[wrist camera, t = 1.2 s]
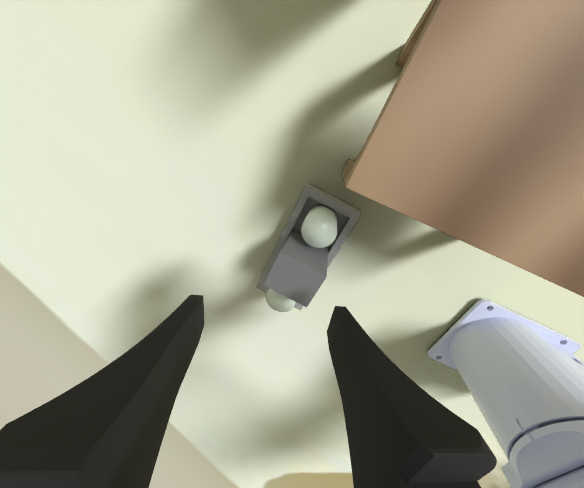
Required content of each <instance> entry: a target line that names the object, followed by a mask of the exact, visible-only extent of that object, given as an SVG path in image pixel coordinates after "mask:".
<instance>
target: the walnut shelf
mask: <svg viewBox="0 0 584 488" xmlns="http://www.w3.org/2000/svg"><path fill="white" fill-rule="evenodd" d="M396 64H397V65H399V66H401V67H403V70H402V71H401V73H400V75H399V77H398V79H397V81H396V83H395V85H394V87H393V89H392V91H391V93H390V95H389V97H388V99H387V101H386V103H385V105H384V107H383V109H382V111H381V113H380V115H379V117H378V119H377V121H376V123H375V125H374V127H373V129H372V131H371V133H370V135H369V137H368V139H367V141H366V143H365V145H364V147H363V149H362V150H361V152H360V154H359V156H358V158H357V160H356V161H354V160H350V159H349V160H348V162H347V164H346V166H345V168H344V170H343V172H342V176H343V180H344V183H345V187H346V188H348V189H350V190H352V191H354V192H356V193H359V194H361V195H363V196H365V197H367V198H370V199H372V200H374V201H376V202H378V203H380V204H383V205H385V206H387V207H389V208H391V209H394V210H396V211H398V212H400V213H402V214H404V215H407V216H409V217H411V218H413V219H415V220H417V221H420V222H422V223H424V224H426V225H428V226H431V227H433V228H435V229H437V230H439V231H441V232H444V233H446V234H448V235H450V236H452V237H454V238H457V239H459V240H461V241H463V242H465V243H468V244H470V245H472V246H474V247H476V248H478V249H481V250H483V251H485V252H487V253H489V254H491V255H494V256H496V257H498V258H500V259H502V260H505V261H507V262H509V263H511V264H513V265H515V266H518V267H520V268H522V269H524V270H526V271H529V272H531V273H533V274H535V275H537V276H539V277H542V278H544V279H546V280H548V281H550V282H552V283H555V284H557V285H559V286H561V287H563V288H566V289H568V290H570V291H572V292H574V293H576V294H579V295H581V296H583V297H584V0H432V1H431V2H430V4H429V6H428V7H427V9H426V10H425V12H424V14H423V15H422V17H421V19H420V20H419V22H418V24H417V25H416V27H415V28H414V30H413V32H412V33H411V35H410V37H409V38H408V40H407V42H406V43H405V45H404V47H403V49H402V51H401V54H400V56H399V58H398V60H397V62H396Z"/></svg>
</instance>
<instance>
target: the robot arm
mask: <svg viewBox="0 0 584 488" xmlns="http://www.w3.org/2000/svg"><path fill="white" fill-rule="evenodd" d="M488 306H490V307H489V308H487V307H488ZM203 326H204V304H203V296H201V295H190V296H189V297H188V298H187V299H186V300H185V301H184V302H183V303H182V304H181V305H180V306H179V307H178V308H177V309H176V310H175V311H174V312H173V313H172V314H171V315H170V316H169V317H167V318H166V319H165V320H164V321H163V322H162V323H161V324H160V325H159V326H158V327H157V328H155V329H154V330H153V331H152V332H151V333H150V334H148V335H147V336H146V337H145V338H144V339H142V340H141V341H140V342H139V343H137V344H136V345H135V346H134V347H132V348H131V349H130V350H128V351H127V352H126V353H124V354H123V355H122V356H120V357H119V358H118V359H116V360H115V361H113V362H112V363H110V364H109V365H107V366H106V367H105V368H103V369H102V370H100V371H99V372H97V373H96V374H94V375H93V376H91V377H89V378H88V379H87V380H84V381H83V382H81V383H80V384H78V385H76V386H75V387H73V388H71V389H70V390H68V391H66V392H65V393H63V394H61V395H60V396H58V397H56V398H54V399H53V400H51V401H49V402H47V403H45V404H43V405H42V406H40V407H38V408H36V409H34V410H32V411H31V412H29V413H27V414H25V415H23V416H21V417H19V418H17V419H16V420H14V421H12V422H10V423H8V424H6V425H5V426H4V427H3V428H2V429H1V430H0V488H148V487H149V484H150V480H151V476H152V474H153V470H154V467H155V463H156V460H157V456H158V453H159V450H160V446H161V443H162V440H163V436H164V434H165V430H166V427H167V424H168V421H169V418H170V414H171V411H172V408H173V405H174V402H175V399H176V396H177V394H178V391H179V388H180V386H181V383H182V381H183V379H184V376H185V374H186V372H187V369H188V367H189V365H190V362H191V360H192V358H193V355H194V353H195V350H196V348H197V346H198V343H199V340H200V337H201V333H202V330H203ZM327 336H328V344H329V350H330V354H331V358H332V362H333V366H334V370H335V374H336V378H337V382H338V386H339V390H340V394H341V398H342V404H343V410H344V416H345V422H346V429H347V436H348V443H349V450H350V458H351V466H352V474H353V483H354V488H481V487H480V485H479V483H478V482H477V481H478V480H479V479H481V478H482V477H483V476H485V475H486V474H488V473H489V472H490V471H492V470H493V469H494V468H495V466H496V463H497V460H496V457H495V456H494V454H493V453H492V451H491V450H490V448H489V447H488V445H487V444H486V442H485V440H484V439H483V437H482V436H481V434H480V433H479V431H478V430H477V429H476V428H474V427H473V426H471V425H470V424H468V423H467V422H466V421H464V420H463V419H461V418H460V417H458V416H457V415H455V414H454V413H453V412H451V411H450V410H448V409H447V408H446V407H444V406H443V405H442V404H440V403H439V402H438V401H437V400H435V399H434V398H433V397H431V396H430V395H429V394H428V393H426V392H425V391H424V390H423V389H421V388H420V387H419V386H418V385H417V384H416V383H414V382H413V381H412V380H411V379H410V378H409V377H408V376H407V375H405V374H404V373H403V372H402V371H401V370H400V369H399V368H398V367H397V366H396V365H395V364H394V363H393V362H392V361H391V360H390V359H389V358H388V357H387V356H386V355H385V354H384V353H383V352H382V351H381V350H380V349H379V347H378V346H377V345H376V344H375V343H374V342H373V341H372V339H371V338H370V337H369V336H368V335H367V333H366V332H365V331H364V330H363V329H362V327H361V326H360V325H359V324H358V322H357V321H356V320H355V318H354V317H353V316H352V315H351V313H350V312H349V311H348V309H347V308H346V307H340V306H335V308H334V311H333V314H332V317H331V320H330V324H329V327H328V330H327ZM580 347H581V345H580V344H579V343H578V342H577V341H575V340H573V339H571V338H569V337H567V336H564V335H562V334H560V333H558V332H556V331H554V330H551V329H549V328H547V327H545V326H543V325H541V324H538V323H536V322H534V321H532V320H530V319H528V318H525V317H523V316H521V315H519V314H517V313H515V312H513V311H510V310H508V309H506V308H504V307H502V306H500V305H497V304H495V303H493V302H491V301H489V300H486V299H481V300H479V301H477V302H476V303H475V304H474V305H473V306H472V307H471V308H470V309H469V310H468V311H467V312H466V313H465V314H464V315H463V316H462V317H461V318H460V319H459V320H458V321H457V322H456V323H455V324H454V325H453V326H452V327H451V328H450V329H449V330H448V331H447V332H446V333H445V334H444V335H443V336H442V337H441V338H440V339H439V340H438V341H437V342H436V343H435V344H434V345H433V346H432V347H431V348H430V350H429V351H428V356H429V357H430V358H432V359H434V360H436V361H438V362H440V363H442V364H444V365H446V366H449V367H451V368H453V369H455V370H457V371H458V372H459V374H460V375H461V377H462V379H463V381H464V382H465V384H466V386H467V388H468V390H469V391H470V393H471V395H472V397H473V398H474V400H475V402H476V404H477V405H478V407H479V409H480V411H481V413H482V414H483V416H484V418H485V420H486V421H487V423H488V425H489V427H490V429H491V430H492V432H493V434H494V436H495V437H496V439H497V441H498V443H499V444H500V446H501V448H502V450H503V452H504V453H505V455H506V457H507V459H508V460H509V461H508V463H507V464H506V465H504V466H502V467H501V469H502V471H503V473H504V475H505V477H506V478H507V480H508V482H509V484H510V486H511V488H584V362H582V361H581V360H580V359H579V358H578V357H576V356H575V355H574V354H573V353H575V352H576V351H577V350H579V349H580Z"/></svg>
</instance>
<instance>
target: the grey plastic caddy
mask: <svg viewBox="0 0 584 488" xmlns="http://www.w3.org/2000/svg"><path fill="white" fill-rule="evenodd" d="M360 216H361V214H360V211H359V210H358V209H356V208H354V207H352V206H350V205H348V204H346V203H344V202H343V201H341V200H339V199H337V198H335V197H333V196H331V195H329V194H327V193H325V192H323V191H321V190H319V189H317V188H316V187H314V186H312V185H310V184H307V185H306V186H305V187H304V190H303V192H302V194H301V196H300V198H299V200H298V202H297V204H296V206H295V208H294V210H293V212H292V214H291V216H290V218H289V220H288V222H287V225H286V227H285V229H284V231H283V233H282V235H281V237H280V239H279V241H278V243H277V245H276V247H275V249H274V251H273V253H272V255H271V257H270V260H269V262H268V264H267V266H266V268H265V270H264V272H263V274H262V276H261V278H260V280H259V282H258V284H257V286H256V287H257V288H258V289H260V290H262V291H264V292H266V293H267V294H266V301H267V303H268V305H269V306H270V307H271V308H272V309H274V310H276V311H279V312H286V311H289V310H291V309H292V308H293V307H295V308H297V309H299V310H301V309H302V307H303V306H305V307H307V306H308V305H309V303H310V302H311V300H312V298H313V297H314V295H315V294H316V292H317V291H318V289H319V288H320V286H321V285H322V283H323V281H324V280H325V278H326V276H327V268H328V266H329V265H330V263H331V262H332V260H333V258H334V257H335V255H336V254H337V252H338V251H339V249H340V247H341V246H342V244H343V243H344V241H345V240H346V238H347V236H348V235H349V233H350V232H351V230H352V229H353V227H354V225H355V224H356V222H357V221H358V219H359V218H360Z"/></svg>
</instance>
